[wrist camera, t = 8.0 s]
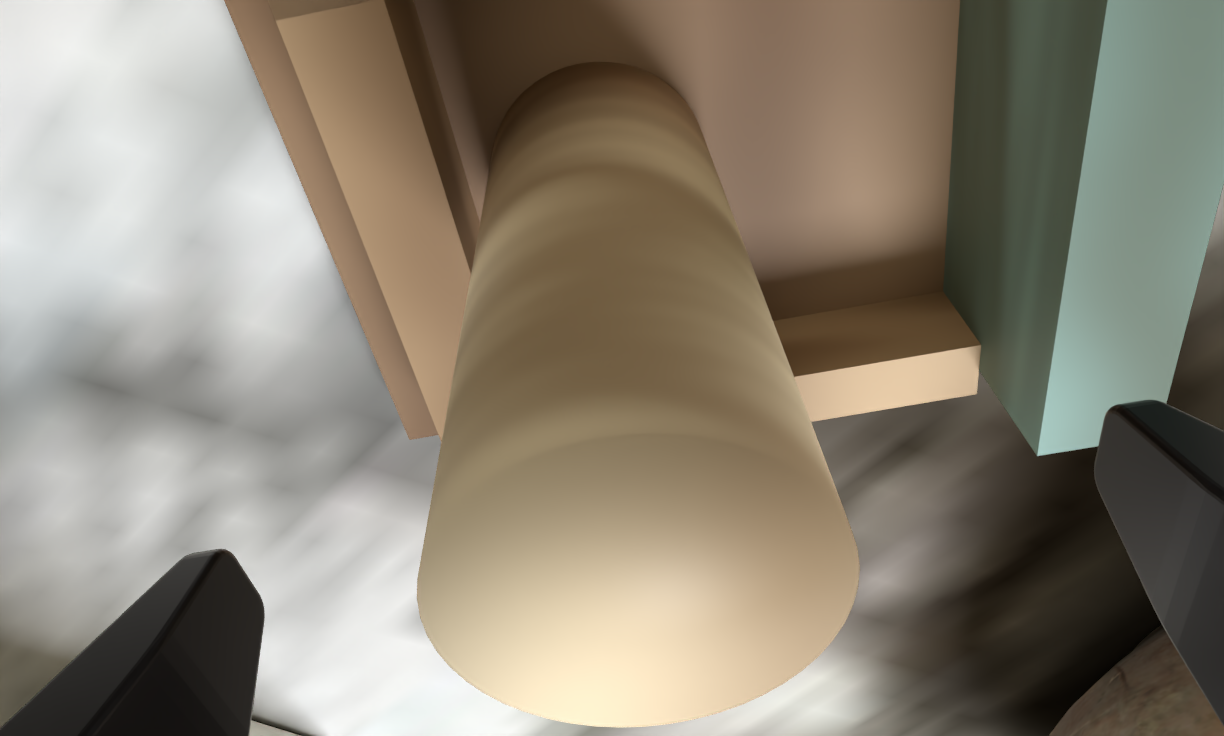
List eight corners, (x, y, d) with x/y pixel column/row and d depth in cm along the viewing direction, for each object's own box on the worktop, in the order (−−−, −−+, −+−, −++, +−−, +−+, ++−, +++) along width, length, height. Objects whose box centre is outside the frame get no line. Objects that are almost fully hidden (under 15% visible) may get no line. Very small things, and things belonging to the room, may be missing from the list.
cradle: (416, 407, 20) (374, 597, 16) (210, -106, 14) (36, -37, 9) (1075, 292, 19) (1236, 460, 15) (1175, -316, 13) (1513, -354, 8)
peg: (520, 281, 17) (482, 751, 9) (465, 85, 15) (351, 480, 7) (717, 246, 17) (862, 696, 9) (692, 41, 15) (856, 394, 6)
